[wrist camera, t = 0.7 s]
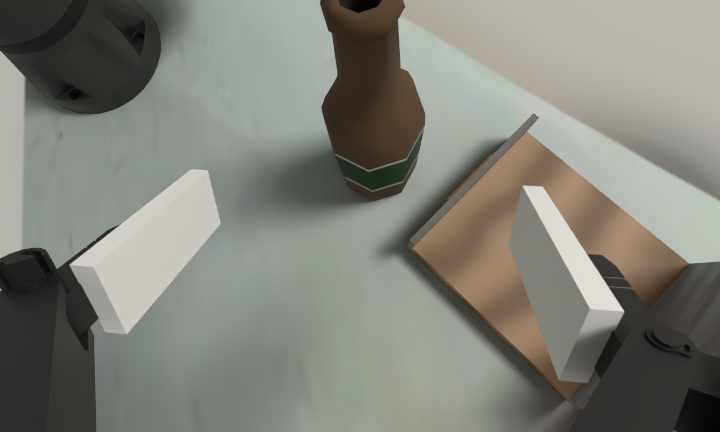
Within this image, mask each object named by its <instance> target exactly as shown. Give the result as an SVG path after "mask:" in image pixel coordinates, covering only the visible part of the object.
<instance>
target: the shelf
mask: <svg viewBox="0 0 720 432" xmlns="http://www.w3.org/2000/svg"><path fill="white" fill-rule="evenodd" d="M538 118H539V117H537V116H536V115H535V114H534V113H533V114H532V115H531V117H530V118H529V119H528V120H527V121H526V122H525V123H524V124H523V125H522V126H521V127H520V128H519V129H518V130H517V131H516V132H515V133H514V134H513V135H512V136H511V137H510V138H509V139H508V140H507V141H506V142H505V143H504V144H503V145H502V146H501V147H500V148H499V149H498V150H497V151H496V152H495V153H494V154H491V155H490V156H489V157H488V158H487V159H486V160H485V161H484V162H483V163H482V164H481V165H480V166H479V167H478V168H477V169H476V170H475V171H474V172H473V173H472V174H471V175H470V176H469V177H468V178H467V179H466V180H465V181H464V182H463V183H462V184H461V185H460V186H459V187H458V188H457V189H456V190H455V191H454V192H453V193H452V194H451V195H450V196H449V197H448V198H447V199H446V201H445V202H444V205H443V206H442V207H441V208H440V209H439V210H438V211H437V212H436V213H435V214H434V215H433V216H432V217H431V219H430V220H429V221H428V222H427V223H426V224H425V225H424V226H423V227H422V228H421V229H420V230H419V231H418V232H417V233H416V234H415V235H414V236H413V237H412V238H411V239H410V240H409V242H408V245H407V247H408V248H409V249H410V250H411V251H412V252H413V253H414V254H415V255H416V256H417V257H418V258H419V259H420V260H421V261H422V262H424V263H425V264H426V265H427V266H428V267H429V268H430V269H431V270H432V271H433V272H434V273H435V274H436V275H437V276H438V277H439V278H440V279H441V280H442V281H443V282H444V283H445V284H446V285H447V286H448V287H450V288H451V289H452V290H453V291H454V292H455V293H456V294H457V295H458V296H459V297H460V298H461V299H462V300H463V301H464V302H465V303H466V304H467V305H468V306H469V307H470V308H471V309H472V310H473V311H474V312H475V313H477V314H478V315H479V316H480V317H481V318H482V319H483V320H484V321H485V322H486V323H487V324H488V325H489V326H490V327H491V328H492V329H493V330H494V331H495V332H496V333H497V334H498V335H499V336H500V337H501V338H502V339H504V340H505V341H506V342H507V343H508V344H509V345H510V346H511V347H512V348H513V349H514V350H515V351H516V352H517V353H518V354H519V355H520V356H521V357H522V358H523V359H524V360H525V361H526V362H527V363H528V364H529V365H531V366H532V367H533V368H534V369H535V370H536V371H537V372H538V373H539V374H540V375H541V376H542V377H543V378H544V379H545V380H546V381H547V382H548V383H549V384H550V385H551V386H552V387H553V388H554V389H555V390H556V391H558V392H559V393H560V394H561V395H562V396H563V397H564V398H565V399H566V400H567V401H569V402H570V403H572V404H573V405H575V406H576V407H578V408H579V409H581V410H583V409H584V407H585V405H586V404H587V402H588V400H589V399H590V397H591V395H592V394H593V392H594V390H595V389H596V387H597V385H598V384H599V382H600V379H599V376H598V374H597V372H596V370H594V372H593V374H592V376H591V378H590V380H589V382H588V383H580V382H570V381H561V380H558V377H557V374H556V372H555V369H554V366H553V363H552V361H551V358H550V355H549V353H548V350H547V347H546V344H545V342H544V339H543V336H542V333H541V331H540V328H539V325H538V323H537V320H536V317H535V314H534V312H533V309H532V306H531V304H530V301H529V298H528V295H527V293H526V290H525V287H524V285H523V282H522V279H521V276H520V274H519V271H518V268H517V265H516V263H515V260H514V257H513V255H512V252H511V249H510V246H509V244H508V241H509V237H510V233H511V229H512V225H513V221H514V217H515V213H516V209H517V205H518V201H519V197H520V193H521V189H522V186H542V187H543V188H544V189H545V191H546V192H547V194H548V195H549V197H550V198H551V200H552V202H553V203H554V205H555V206H556V208H557V209H558V211H559V212H560V214H561V215H562V217H563V218H564V220H565V221H566V223H567V224H568V226H569V228H570V229H571V231H572V232H573V234H574V235H575V237H576V238H577V240H578V241H579V243H580V244H581V246H582V247H583V249H584V251H585V252H586V254H596V255H602V256H604V257H605V258H607V259H608V260H609V261H611V262H612V263H613V264H615V265H616V266H617V268H618V269H619V270H620V272H621V273H622V274H623V276H624V277H625V278H624V279H625V280H627V281H628V283H629V284H630V285H631V287H632V289H634V291H635V292H636V294H637V295H638V296H639V298H640V299H641V300H642V302H643V303H644V304H645V306H646V307H647V309H648V310H649V311H650V313H651V314H652V315H653V317H654V318H655V319H656V321H657V322H659V323H662V324H664V325H667V326H670V327H672V328H674V329H675V330H677V331H679V332H681V333H682V334H684V335H685V336H686V337H687V338H688V339H690V340H691V341H692V342H693V343H694V345H695V346H696V348H697V349H698V351H699V352H702V353H705V354H708V355H712V356H715V357H718V358H720V262H708V263H694V264H689V263H688V262H686V261H685V260H684V259H683V258H681V257H680V256H679V255H678V254H676V253H675V252H674V251H673V250H672V249H670V248H669V247H668V246H667V245H665V244H664V243H663V242H662V241H661V240H659V239H658V238H657V237H656V236H654V235H653V234H652V233H651V232H649V231H648V230H647V229H646V228H645V227H643V226H642V225H641V224H640V223H638V222H637V221H636V220H635V219H634V218H632V217H631V216H630V215H629V214H627V213H626V212H625V211H624V210H622V209H621V208H620V207H619V206H618V205H616V204H615V203H614V202H613V201H611V200H610V199H609V198H608V197H606V196H605V195H604V194H603V193H602V192H600V191H599V190H598V189H597V188H595V187H594V186H593V185H592V184H591V183H589V182H588V181H587V180H586V179H584V178H583V177H582V176H581V175H579V174H578V173H577V172H576V171H575V170H573V169H572V168H571V167H570V166H568V165H567V164H566V163H565V162H563V161H562V160H561V159H560V158H559V157H557V156H556V155H555V154H554V153H552V152H551V151H550V150H549V149H548V148H546V147H545V146H544V145H543V144H541V143H540V142H539V141H538V140H536V139H535V138H534V137H533V136H532V135H530V134H529V133H528V132H527V130H528V129H529V128H530V127H531V126H532V125H533V124H534V123H535V121H536V120H537V119H538ZM673 432H676V431H674V430H673Z"/></svg>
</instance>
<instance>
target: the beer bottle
mask: <svg viewBox="0 0 720 432" xmlns="http://www.w3.org/2000/svg"><path fill="white" fill-rule="evenodd" d="M320 5H321V8H322V11H323V15H324V18H325V21H326V24H327V27H328V30H329V32H332V37H333V44H334V51H335V58H336V65H337V78H336V80H335V81H334V83H333V85H332V87H331V88H330V90H329V92H328V93H327V95H326V97H325V99H324V102H323V105H322V107H321V108H322V112H323V117H324V120H325V124H326V127H327V131H328V134H329V137H330V141H331V144H332V148H333V151H334V154H335V156H336V159H337V161H338V163H339V166H340V168H341V170H342V173H343V175H344V178H345V180H346V182H347V184H348V186H349V187H350V188H351V189H353V190H355V191H357V192H359V193H361V194H363V195H364V196H366V197H368V198H370V199H372V200H374V201H375V200H378V199H381V198H385V197H388V196H391V195H394V194H398V193H401V192H402V190H403V188H404V187H405V185H406V183H407V181H408V179H409V177H410V175H411V174H412V172H413V170H414V168H415V165H416V163H417V158H418V154H419V149H420V145H421V140H422V136H423V131H424V126H425V112H424V109H423V107H422V104H421V101H420V98H419V95H418V93H417V90H416V87H415V84H414V81H413V79H412V77H411V76H410V74H409V72H408V71H406V70H403V69H401V67H400V50H399V32H398V18H399V17H400V15H401V13H402V11H403V10H404V8H405V5H404V2H403V0H321V1H320Z"/></svg>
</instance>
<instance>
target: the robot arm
mask: <svg viewBox="0 0 720 432" xmlns="http://www.w3.org/2000/svg"><path fill="white" fill-rule="evenodd" d="M160 50H161V41H160V35H159V31H158V28H157V26H156V24H155V22H154V20H153V19H152V17H151V16H150V15H149V14H148V13H147V12H146V11H145V9H144V8H143V7H142V6H141V5H140V4H139V3H138V2H137V1H136V0H0V51H1V52H2V53H3V54H4V55H5V56H6V57H7V58H8V59H9V60H10V61H11V62H12V63H13V64H14V65H15V66H16V67H17V69H18V70H19V71H20V72H21V73H22V74H23V75H24V76H25V77H26V78H27V79H28V80H29V81H30V82H31V83H32V84H33V85H34V86H35V88H36V89H37V90H38V91H40V92H41V93H42V94H43V95H45V96H46V97H47V98H49V99H51V100H53V101H54V102H56V103H58V104H60V105H62V106H64V107H65V108H68V109H70V110H73V111H76V112H82V113H98V112H104V111H108V110H111V109H114V108H116V107H118V106H120V105H122V104H124V103H126V102H127V101H129V100H130V99H132V98H133V97H134V96H136V95H137V94H138V93H139V92H140V91H141V90H142V89H143V88H144V87H145V85H146V84H147V83H148V81H149V80H150V79H151V77H152V75H153V73H154V71H155V69H156V67H157V64H158V61H159V57H160ZM220 224H221V223H220V219H219V215H218V211H217V207H216V203H215V199H214V195H213V190H212V186H211V182H210V178H209V174H208V170H193V169H191V170H190V171H188V172H187V173H186V174H185V175H183V176H182V177H181V178H179V179H178V180H177V181H176V182H174V183H173V184H172V185H171V186H169V187H168V188H167V189H165V190H164V191H163V192H162V193H160V194H159V195H158V196H156V197H155V198H154V199H153V200H151V201H150V202H149V203H148V204H146V205H145V206H144V207H142V208H141V209H140V210H139V211H137V212H136V213H135V214H134V215H132V216H131V217H130V218H128V219H127V220H126V221H125V222H123V223H122V224H120V225H118V226H116V227H114V228H112V229H109V230H107V231H106V232H105V233H104V234H102V235H101V236H100V237H98V238H97V239H96V241H93V242H92V243H91V244H89V245H88V246H87V248H84V249H83V250H81V251H80V252H79V253H78V254H76V255H75V256H74V257H72V258H71V259H70V260H69V261H67V262H66V263H65V264H63V265H62V266H61V267H59V268H58V269H56V267H55V265H54V263H53V261H52V260H51V258H50V256H49V254H48V253H47V251H46V250H45V249H42V248H29V249H24V250H20V251H17V252H14V253H11V254H9V255H7V256H5V257H2V258H1V259H0V288H1V290H2V291H0V432H96V400H95V362H94V335H93V333H92V331H91V329H90V327H91V326H92V324H93V323H94V322H95V321H96V320H97V319H98V320H99V321H100V323H101V325H102V327H103V329H104V331H105V332H110V333H119V334H128V332H129V331H130V330H131V329H132V328H133V327H134V325H135V324H136V323H137V322H138V321H139V319H140V318H141V317H142V316H143V315H144V314H145V312H146V311H147V310H148V309H149V308H150V306H151V305H152V304H153V303H154V302H155V301H156V299H157V298H158V297H159V296H160V295H161V294H162V292H163V291H164V290H165V289H166V288H167V286H168V285H169V284H170V283H171V282H172V281H173V279H174V278H175V277H176V276H177V275H178V273H179V272H180V271H181V270H182V269H183V268H184V266H185V265H186V264H187V263H188V262H189V260H190V259H191V258H192V257H193V256H194V255H195V253H196V252H197V251H198V250H199V249H200V247H201V246H202V245H203V244H204V243H205V242H206V240H207V239H208V238H209V237H210V236H211V234H212V233H213V232H214V231H215V230H216V229H217V227H218V226H219V225H220ZM508 244H509V246H510V249H511V252H512V255H513V257H514V260H515V263H516V265H517V268H518V271H519V274H520V276H521V279H522V282H523V285H524V287H525V290H526V293H527V295H528V298H529V301H530V304H531V306H532V309H533V312H534V314H535V317H536V320H537V323H538V325H539V328H540V331H541V333H542V336H543V339H544V342H545V344H546V347H547V350H548V353H549V355H550V358H551V361H552V363H553V366H554V369H555V372H556V374H557V377H558V380H561V381H570V382H580V383H588V382H589V380H590V378H591V376H592V374H593V372H594V370H596V372H597V374H598V376H599V379H600V382H599V384H598V385H597V387H596V389H595V390H594V392H593V394H592V395H591V397H590V399H589V400H588V402H587V404H586V405H585V407H584V409H583V410H582V412H581V414H580V415H579V417H578V419H577V420H576V422H575V424H574V425H573V427H572V429H571V430H570V432H673V430H674V431H676V432H720V358H718V357H715V356H712V355H708V354H705V353H702V352H699V351H698V349H697V348H696V346H695V345H694V343H693V342H692V341H691V340H690V339H688V338H687V337H686V336H685V335H684V334H682V333H681V332H679V331H677V330H675V329H674V328H672V327H670V326H667V325H664V324H662V323H659V322H657V321H656V319H655V318H654V317H653V315H652V314H651V313H650V311H649V310H648V309H647V307H646V306H645V304H644V303H643V302H642V300H641V299H640V298H639V296H638V295H637V294H636V292H635V291H634V289H632V287H631V285H630V284H629V283H628V281H627V280H625V279H624V278H625V277H624V276H623V274H622V273H621V272H620V270H619V269H618V268H617V266H616V265H615V264H613V263H612V262H611V261H609V260H608V259H607V258H605V257H604V256H602V255H596V254H586V252H585V251H584V249H583V247H582V246H581V244H580V243H579V241H578V240H577V238H576V237H575V235H574V234H573V232H572V231H571V229H570V228H569V226H568V224H567V223H566V221H565V220H564V218H563V217H562V215H561V214H560V212H559V211H558V209H557V208H556V206H555V205H554V203H553V202H552V200H551V198H550V197H549V195H548V194H547V192H546V191H545V189H544V188H543V187H542V186H522V189H521V193H520V197H519V201H518V205H517V209H516V213H515V217H514V221H513V225H512V229H511V233H510V237H509V241H508Z"/></svg>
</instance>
